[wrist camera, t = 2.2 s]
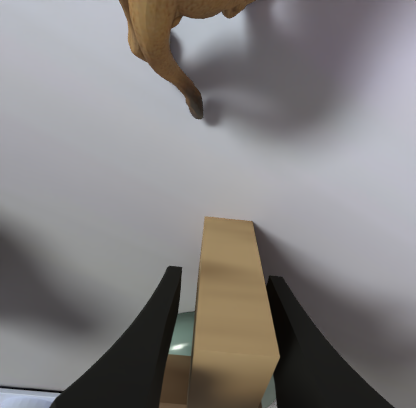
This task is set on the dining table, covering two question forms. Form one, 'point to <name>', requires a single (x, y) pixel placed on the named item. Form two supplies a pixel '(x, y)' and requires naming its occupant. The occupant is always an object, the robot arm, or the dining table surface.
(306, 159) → the dining table surface
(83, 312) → the dining table surface
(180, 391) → the brown wooden rectangular frame
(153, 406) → the robot arm
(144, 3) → the lion figurine
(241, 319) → the block
